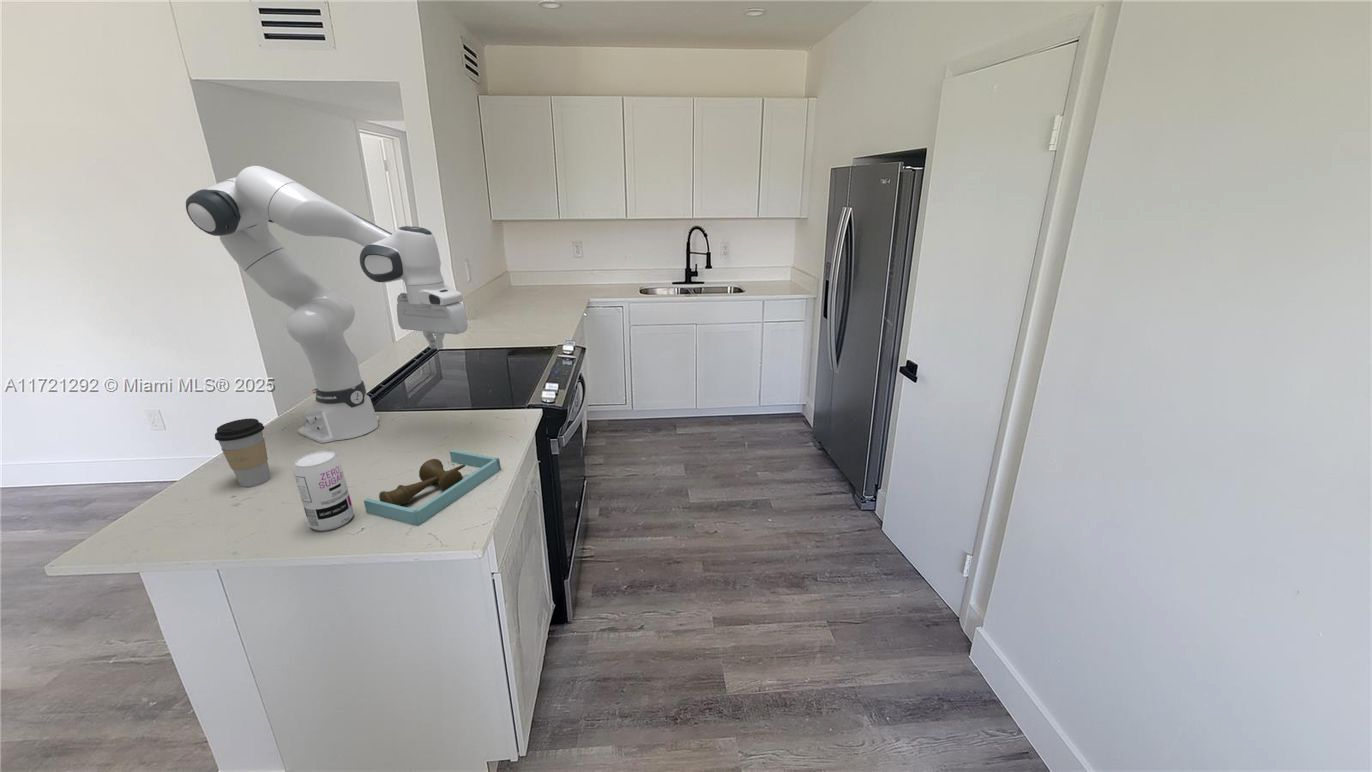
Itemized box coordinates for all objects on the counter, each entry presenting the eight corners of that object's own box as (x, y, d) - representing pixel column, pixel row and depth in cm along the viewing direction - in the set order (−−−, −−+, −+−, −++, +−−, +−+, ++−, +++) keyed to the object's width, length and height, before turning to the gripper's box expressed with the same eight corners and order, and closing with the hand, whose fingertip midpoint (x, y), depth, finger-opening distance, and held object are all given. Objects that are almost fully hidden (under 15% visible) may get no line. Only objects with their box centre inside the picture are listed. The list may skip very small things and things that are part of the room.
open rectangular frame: (366, 512, 121) (363, 500, 120) (454, 460, 143) (452, 449, 142) (418, 525, 115) (415, 513, 114) (500, 469, 138) (499, 458, 137)
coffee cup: (227, 494, 130) (207, 436, 125) (236, 477, 138) (217, 422, 133) (275, 484, 134) (258, 427, 129) (281, 468, 142) (265, 414, 137)
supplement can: (322, 512, 121) (305, 450, 116) (361, 509, 122) (346, 448, 117) (301, 534, 114) (281, 469, 109) (343, 531, 114) (325, 466, 109)
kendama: (375, 508, 123) (456, 470, 138) (397, 522, 118) (479, 481, 133) (369, 485, 121) (451, 448, 136) (391, 499, 116) (475, 459, 131)
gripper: (385, 294, 138) (396, 347, 143) (447, 298, 131) (457, 354, 135) (406, 290, 144) (416, 341, 148) (467, 294, 136) (475, 348, 141)
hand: (436, 348), depth 142 cm, fingers closed
